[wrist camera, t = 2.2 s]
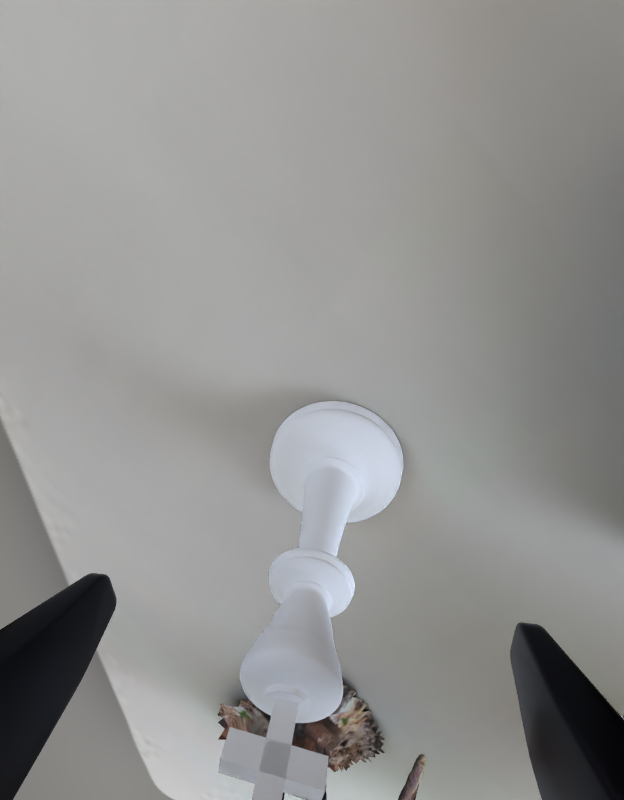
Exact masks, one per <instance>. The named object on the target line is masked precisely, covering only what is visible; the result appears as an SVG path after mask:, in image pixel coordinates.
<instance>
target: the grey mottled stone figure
mask: <svg viewBox="0 0 624 800" xmlns="http://www.w3.org/2000/svg"><path fill="white" fill-rule="evenodd" d="M348 687H349V686H343V697H342V701H341V703H340V705H339V707H338V708H337V709H336V710H335V711H334V712H333V713H332V714H331V715H329V716H328V717H326V718H324V719H322V720H319V721H316V722H310V723H295V728H294V734H293V740H292V746H296V747H299V748H302V749H306V750H309V751H313V752H316V753H319V754H323V755H326V756H329V758H328V767H330V768H331V769H332V770H333V771H334V772H336V771H338V770H339V768H340V769H341V771H342V769H343V767H344V768H345V770H347V768H349V767H350V765H349V764H352V761H353V762H355V763H357V762H358V761H359V760H362V761H364V762H365V763H366V761H365V759H364V758H366V759H368V760H369V761H370V759H369V758H368V757H375V753H376V754H379V753H378V752H377V750H378V751H381V752H383V750H382V749H381V747H382V745H383V743H382V742H381V740H384V738H382V737H381V736H380V733H381V732H382V731H381V732H378V733H376V732H377V729H378V726H377V725H376V724H374V720H373V718H372V716H371V711H366V712H362V711H363V710H364V708H365V706H366V705H367V704H364V703H361V702H362V700H359V699H358V698H354V697H353V696H354V695H355V694H356V693H357V692H353V691H354V690H355V689H354V690H348ZM220 704H221V703H220ZM218 715H219V716H222V717H224V718H223V719H222V720H220V721H219V722H218V723H219V724H220V725H221V726H223V727H224V728H225V730H224V731H223V733H222V734H221V736H220V737H219V739H226V738H227V735H228V732H229V728H230V727H232V728H235V729H238V730H242V731H245V732H249V733H252V734H255V735H259V736H262V737H265V738H266V736H267V731H268V727H269V723H270V718H271V716H270V715H268V714H267V713H265V712H263V711H262V710H260V709H259V708H258V707H256V706H255V705H254V704H253V703H252V702H251V701H248V700H240V704H239V707H235V706H228V705H224V704H221V709H220V711H219V713H218ZM383 753H384V752H383ZM351 760H352V761H351ZM425 762H426V756H425V755H423V754H421V755H419V756H418V758H417V759H416V761H415V763H414V766H413V768H412V771H411V772H410V774H409V776H408V778H407V781H406V784H405V786H404V788H403V789H402V791H401V794H400V796H399V799H398V800H415V799H416V793H417V789H418V786H419V783H420V781H421V779H422V776H423V773H424V766H425ZM352 765H353V764H352ZM338 766H339V768H338ZM282 800H284V793H283V796H282ZM322 800H327V799H326V787H325V793H324V795H323V798H322Z"/></svg>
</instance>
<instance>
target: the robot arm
mask: <svg viewBox="0 0 624 800" xmlns="http://www.w3.org/2000/svg"><path fill="white" fill-rule="evenodd" d="M115 607H116V596H115V593H114V590H113V587H112V584H111V581H110V578H109V577H108V576H107V575H105V574H97V573H91V574H88V575H86V576H84V577H83V578H81V579H80V580H78V581H77V582H75V583H73V584H72V585H70V586H69V587H67V588H66V589H64V590H62V591H61V592H59V593H58V594H56V595H54V596H53V597H51V598H50V599H48V600H47V601H45V602H44V603H42V604H41V605H39V606H37V607H36V608H34V609H32V610H31V611H29V612H28V613H26V614H25V615H23V616H22V617H20V618H18V619H17V620H15V621H13V622H12V623H10V624H9V625H7V626H6V627H4V628H2V629H1V630H0V800H13V799H14V797H15V795H16V793H17V792H18V790H19V788H20V786H21V784H22V783H23V781H24V779H25V778H26V776H27V774H28V772H29V771H30V769H31V767H32V766H33V764H34V762H35V760H36V759H37V757H38V755H39V753H40V752H41V750H42V748H43V746H44V745H45V743H46V741H47V739H48V738H49V736H50V734H51V732H52V731H53V729H54V727H55V725H56V724H57V722H58V720H59V718H60V717H61V715H62V713H63V712H64V710H65V708H66V706H67V705H68V703H69V701H70V699H71V698H72V696H73V694H74V692H75V691H76V689H77V687H78V685H79V683H80V682H81V680H82V678H83V676H84V674H85V672H86V670H87V668H88V666H89V663H90V661H91V659H92V657H93V655H94V653H95V651H96V649H97V647H98V644H99V642H100V640H101V638H102V636H103V634H104V632H105V630H106V627H107V625H108V623H109V621H110V619H111V617H112V615H113V613H114V610H115ZM510 657H511V664H512V670H513V675H514V680H515V685H516V690H517V695H518V701H519V706H520V711H521V716H522V721H523V726H524V731H525V737H526V742H527V746H528V751H529V756H530V759H531V763H532V767H533V771H534V774H535V778H536V781H537V785H538V788H539V791H540V795H541V798H542V800H624V720H623V718H622V717H621V716H620V715H619V714H618V713H617V712H616V710H615V709H614V708H613V707H612V706H611V705H610V704H609V702H608V701H607V700H606V699H605V698H604V697H603V695H602V694H601V693H600V692H599V691H598V690H597V689H596V687H595V686H594V685H593V684H592V683H591V682H590V681H589V679H588V678H587V677H586V676H585V675H584V674H583V673H582V671H581V670H580V669H579V668H578V667H577V666H576V665H575V663H574V662H573V661H572V660H571V659H570V658H569V656H568V655H567V654H566V653H565V652H564V651H563V650H562V648H561V647H560V646H559V645H558V644H557V643H556V642H555V640H554V639H553V638H552V637H551V636H550V635H549V634H548V632H547V631H546V630H545V629H544V628H543V627H542V626H540V625H537V624H531V623H522V622H521V623H518V624H517V626H516V629H515V633H514V637H513V641H512V645H511V650H510Z"/></svg>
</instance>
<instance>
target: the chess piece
mask: <svg viewBox="0 0 624 800" xmlns="http://www.w3.org/2000/svg"><path fill="white" fill-rule="evenodd" d="M270 471H271V475H272V479H273V481H274V484H275V486H276V487H277V489H278V491H279V492H280V494H281V495H282V496H283V498H284V499H285V500H286V501H287V502H288V503H289V504H290V505H291V506H293V507H294V508H295V509H297V510H298V511H300V512H301V513H302V524H301V533H300V540H299V547H298V548H295V549H291V550H288V551H286V552H284V553H282V554H280V555H279V556H278V557H277V558H276V559H275V560H274V561H273V563H272V564H271V566H270V570H269V586H270V590H271V593H272V595H273V597H274V598H275V599H276V601H277V602H278V603H279V604H280V607H279V608H278V609H277V611H276V612H275V613H274V615H273V617H272V619H271V621H270V622H269V624H268V625H267V627H266V628H265V630H264V631H263V633H262V634H261V635H260V636H259V637H258V638H257V639H256V641H255V642H254V643H253V645H252V646H251V648H250V649H249V651H248V653H247V654H246V656H245V658H244V660H243V662H242V664H241V667H240V673H239V676H240V683H241V686H242V688H243V690H244V692H245V694H246V695H247V697H248V698H249V699H250V701H251V702H252V703H253V704H254V705H255V706H256V707H258V708H259V709H260V710H262V711H263V712H265V713H267V714H268V715H270V716H271V718H270V723H269V727H268V731H267V736H266V738H265V737H262V736H259V735H255V734H252V733H249V732H245V731H242V730H238V729H235V728H232V727H230V728H229V732H228V735H227V738H226V741H225V745H224V748H223V751H222V754H221V758H220V764H219V772H218V773H222V774H225V775H228V776H231V777H235V778H238V779H241V780H244V781H248V782H251V783H254V784H255V788H254V792H253V797H252V800H282V796H283V793H287V794H290V795H293V796H296V797H299V798H303V799H306V800H322V798H323V795H324V793H325V787H326V777H327V768H328V758H329V756H326V755H323V754H319V753H316V752H313V751H309V750H306V749H302V748H299V747H296V746H292V740H293V734H294V728H295V723H310V722H316V721H319V720H322V719H324V718H326V717H328V716H329V715H331V714H332V713H333V712H334V711H335V710H336V709H337V708H338V707H339V705H340V703H341V701H342V697H343V681H342V674H341V669H340V664H339V660H338V657H337V654H336V649H335V645H334V639H333V629H332V624H331V620H330V618H331V617H334V616H336V615H338V614H340V613H341V612H343V611H344V610H345V609H346V608H347V606H348V605H349V603H350V601H351V598H352V597H353V594H354V590H355V583H354V578H353V576H352V574H351V572H350V570H349V569H348V567H347V566H346V565H345V564H344V563H343V562H342V561H341V560H339V559H338V558H337V557H336V556H337V552H338V548H339V544H340V541H341V538H342V534H343V531H344V528H345V525H346V523H353V522H358V521H362V520H365V519H367V518H370V517H372V516H374V515H376V514H377V513H379V512H380V511H382V510H383V509H384V508H385V507H386V506H387V505H388V504H389V503H390V502H391V501H392V499H393V498H394V496H395V495H396V493H397V491H398V488H399V486H400V482H401V476H402V472H403V453H402V449H401V446H400V443H399V441H398V439H397V437H396V435H395V434H394V432H393V431H392V429H391V428H390V427H389V426H388V425H387V423H386V422H385V421H383V420H382V419H381V418H380V417H379V416H377V415H376V414H374V413H373V412H371V411H369V410H367V409H365V408H363V407H361V406H358V405H355V404H351V403H347V402H340V401H325V402H318V403H314V404H310V405H307V406H305V407H303V408H301V409H299V410H297V411H295V412H294V413H292V414H291V415H290V416H289V417H288V418H287V419H286V420H285V421H284V422H283V423H282V424H281V426H280V427H279V429H278V430H277V432H276V434H275V437H274V440H273V444H272V449H271V453H270Z"/></svg>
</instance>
